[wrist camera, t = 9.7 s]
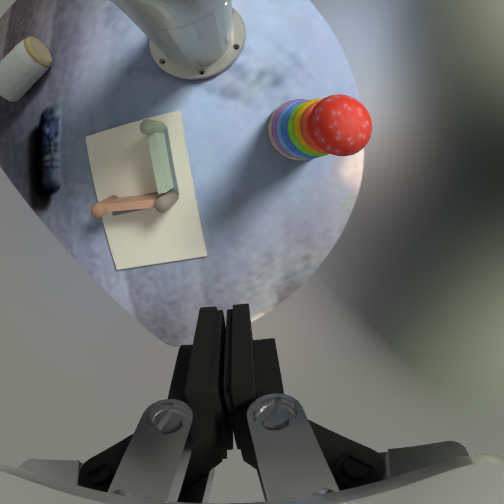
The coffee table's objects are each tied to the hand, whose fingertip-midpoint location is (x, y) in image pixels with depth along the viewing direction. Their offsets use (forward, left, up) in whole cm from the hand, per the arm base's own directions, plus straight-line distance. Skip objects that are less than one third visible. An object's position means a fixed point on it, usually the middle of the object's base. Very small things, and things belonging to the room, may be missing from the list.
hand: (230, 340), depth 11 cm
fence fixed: (-7, -9, -31) cm, 32 cm away
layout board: (-2, -12, -31) cm, 34 cm away
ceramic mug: (-27, -29, -32) cm, 51 cm away
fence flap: (-2, -13, -31) cm, 33 cm away
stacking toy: (-7, +9, -32) cm, 34 cm away
